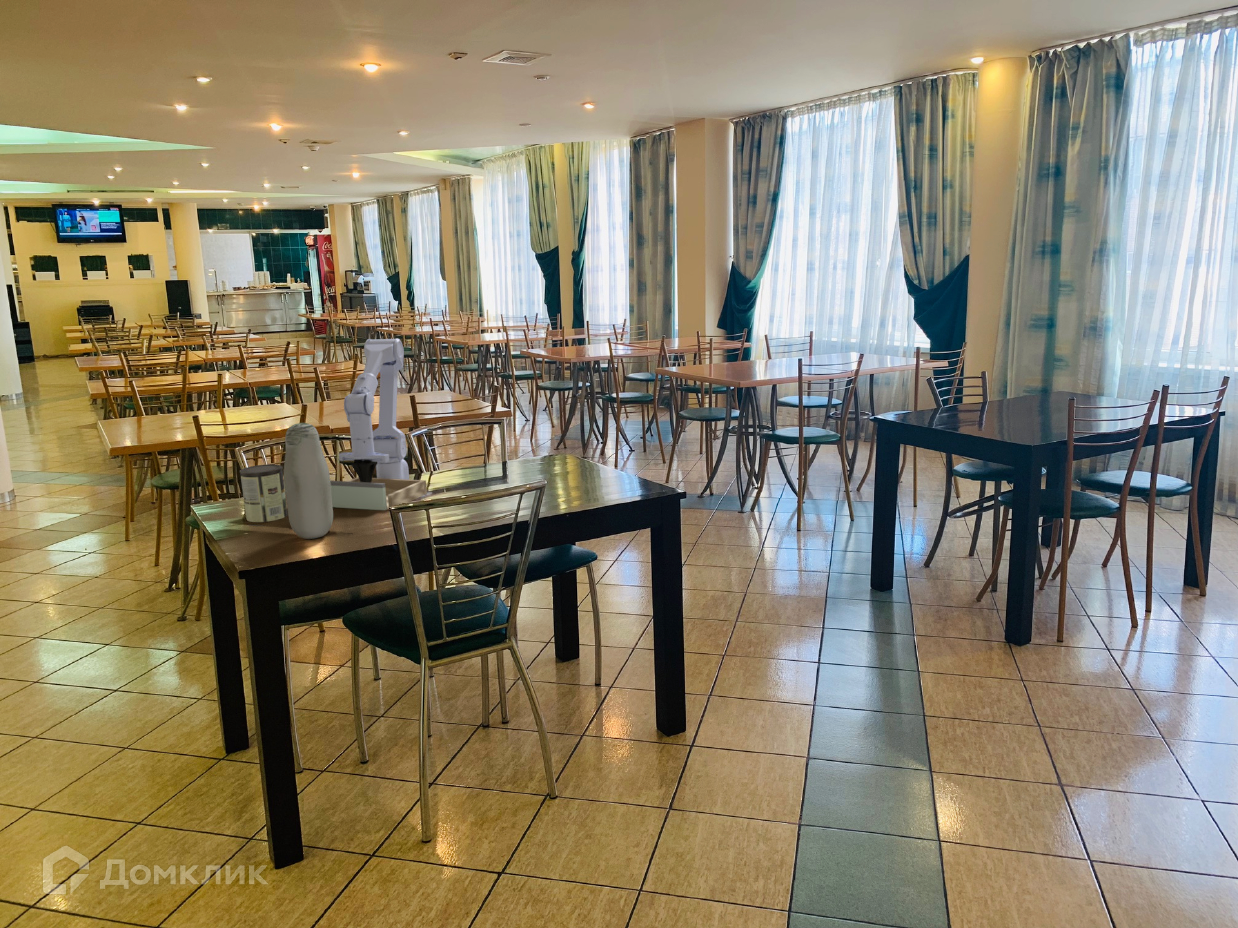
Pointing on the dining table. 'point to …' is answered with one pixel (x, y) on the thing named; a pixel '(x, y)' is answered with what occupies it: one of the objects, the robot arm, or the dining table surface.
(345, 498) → the panel
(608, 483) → the dining table surface
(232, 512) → the dining table surface
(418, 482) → the cart bed
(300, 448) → the white bottle
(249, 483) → the coffee can
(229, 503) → the dining table surface
